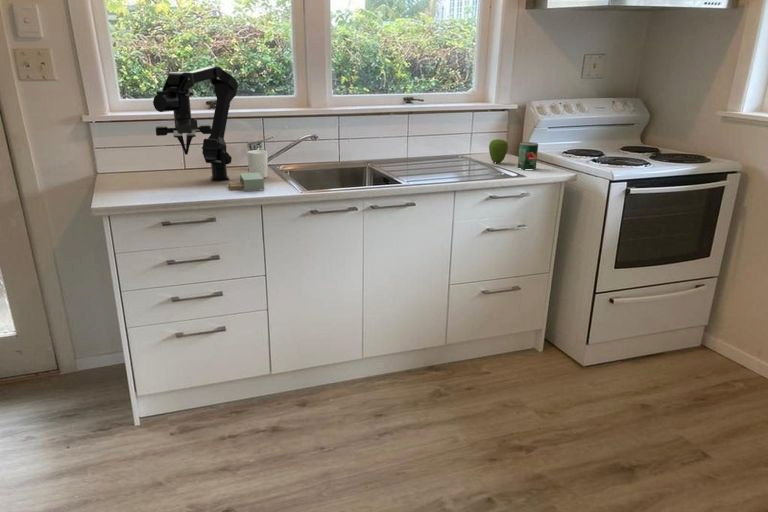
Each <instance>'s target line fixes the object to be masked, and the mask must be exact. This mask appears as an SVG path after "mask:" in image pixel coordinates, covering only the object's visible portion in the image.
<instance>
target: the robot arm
mask: <svg viewBox="0 0 768 512" xmlns="http://www.w3.org/2000/svg"><path fill="white" fill-rule="evenodd" d="M207 80H209V83H210V84H211V85H212V86H213V88H214V89H213V91H214V95H215V97H216V102H215V107H214V111H213V119H212V125H210V124H209V123H208V124H199V125H198V119H197V118H192V111H191V101H190V97H192V96H194V93H193V92H192V91H191V90H190V89H191V88H193V87H194V86H195V84H197V83H200V82H201V83H202V82H204V81H207ZM238 89H239V83H238V81H237V79H236V78H235V77H233V76H232V75H231V74H229V73H228V72H226V71H225V70H223V69H222V67H221V66H219V65H207V66H206V67H201V68H197V69H195V70H194V69H193V70H191V71H171V72H169V73H168V75H167V78H166V80H165V82H164V85H163V86H162V90H156V94H155V95H154V97H153V101H152V103H153V107H154V109H155V110H156V111H158V112H159V113H164V112H165V113H166V112H172V111H173V119H174V121H173V122H174V127H168V125H156V126H155V135H156V136H158V137H159V136H162V137H163V136H167V135H168V134H173V138H177V140H178V141H179V143H180V145H181V148H182V150H183V152H184V155H186V156H187V155H188V154H189V150H190V146H191V143H192V140H193V138H196V137H197V136H196V133H202V134H203V135H209V136H208V137H207V138H204V139H203V140H202V141H203V143H202V147H201V150H202V155H203V158H204V161H205V163H206V164H210V167H211V176H210V180H211V181H226V180H228V181H229V180H230V176H228V167H227V165H230V164H231V163H232V158H233V157H232V156H231V155H230V154H229V153H228V151H227V144H226V141H225V134H226V127H227V122H228V115H229V110H230V104H231V102H232V101H233V99H234V98H235V97H236V95H237V92H238ZM183 134H185V140H184V135H183Z"/></svg>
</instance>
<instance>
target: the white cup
mask: <svg viewBox="0 0 768 512" xmlns="http://www.w3.org/2000/svg"><path fill="white" fill-rule="evenodd" d="M246 155H247V163H248V172H249V173H259V174H260V175H261V176H262V177H263V179H265V178H267V177H268V169H269V168H268V166H269V165H268V159H269V158H268V157H269V155H268V151H267V150H264V149H263V150H262V149H257V150H256V149H253V150H248V151H246ZM264 177H265V178H264Z"/></svg>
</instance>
